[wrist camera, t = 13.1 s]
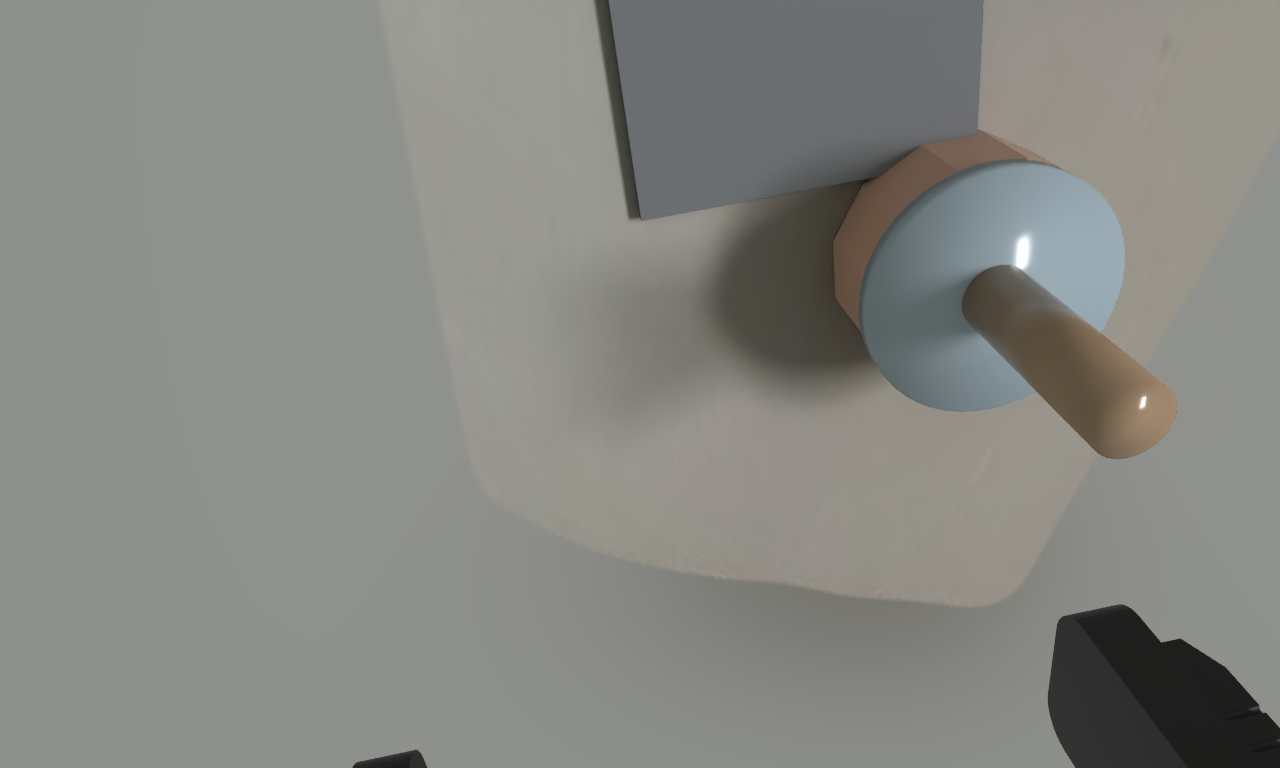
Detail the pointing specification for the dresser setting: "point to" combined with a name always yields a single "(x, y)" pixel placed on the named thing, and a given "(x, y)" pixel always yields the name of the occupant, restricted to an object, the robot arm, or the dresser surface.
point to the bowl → (904, 202)
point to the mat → (787, 92)
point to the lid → (1011, 304)
